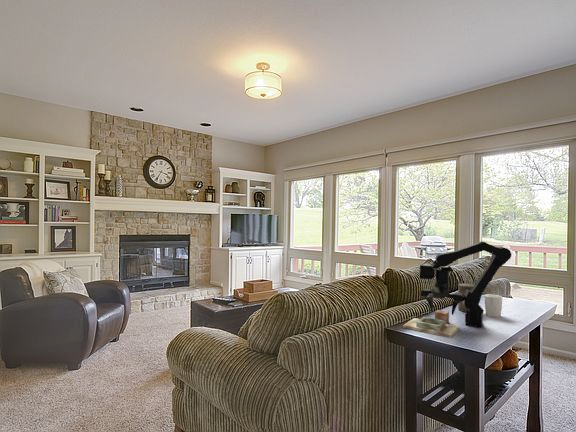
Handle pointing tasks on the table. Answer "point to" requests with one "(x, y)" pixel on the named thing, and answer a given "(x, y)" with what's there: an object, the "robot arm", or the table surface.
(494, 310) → the white cup
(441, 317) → the terracotta cube
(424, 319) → the socket board
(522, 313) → the table surface
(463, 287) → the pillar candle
